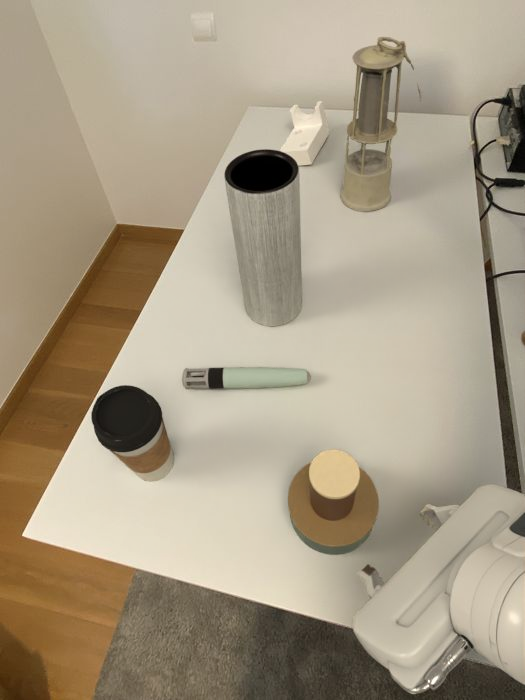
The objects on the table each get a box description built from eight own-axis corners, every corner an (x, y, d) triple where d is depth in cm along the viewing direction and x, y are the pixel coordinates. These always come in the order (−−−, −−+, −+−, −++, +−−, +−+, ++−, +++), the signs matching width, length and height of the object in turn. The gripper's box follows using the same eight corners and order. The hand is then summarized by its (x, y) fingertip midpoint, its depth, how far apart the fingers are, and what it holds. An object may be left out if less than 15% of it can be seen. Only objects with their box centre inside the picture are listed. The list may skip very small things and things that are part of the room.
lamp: (338, 182, 107) (346, 27, 83) (400, 178, 106) (426, 20, 82) (342, 213, 101) (352, 55, 77) (407, 209, 100) (438, 49, 76)
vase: (289, 277, 91) (282, 141, 70) (311, 316, 86) (311, 180, 64) (237, 294, 90) (214, 160, 68) (256, 334, 84) (237, 201, 62)
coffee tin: (382, 484, 67) (387, 471, 64) (364, 568, 61) (367, 559, 58) (303, 461, 70) (302, 447, 67) (277, 538, 64) (275, 528, 61)
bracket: (302, 135, 120) (293, 105, 115) (329, 132, 117) (322, 100, 111) (282, 166, 113) (272, 135, 108) (311, 164, 110) (302, 132, 105)
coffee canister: (359, 485, 63) (365, 457, 56) (348, 528, 60) (353, 504, 53) (316, 472, 64) (317, 443, 58) (303, 513, 61) (302, 488, 55)
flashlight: (310, 359, 78) (184, 361, 80) (310, 372, 74) (178, 374, 76) (310, 377, 80) (186, 379, 81) (311, 391, 76) (181, 392, 77)
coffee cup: (149, 426, 75) (118, 371, 63) (194, 451, 72) (171, 398, 60) (113, 472, 71) (72, 423, 59) (159, 501, 68) (126, 455, 56)
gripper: (439, 733, 37) (340, 636, 50) (589, 548, 44) (468, 503, 57) (401, 675, 36) (309, 590, 49) (562, 493, 43) (444, 460, 55)
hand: (396, 542), depth 53 cm, fingers open, 8 cm apart
